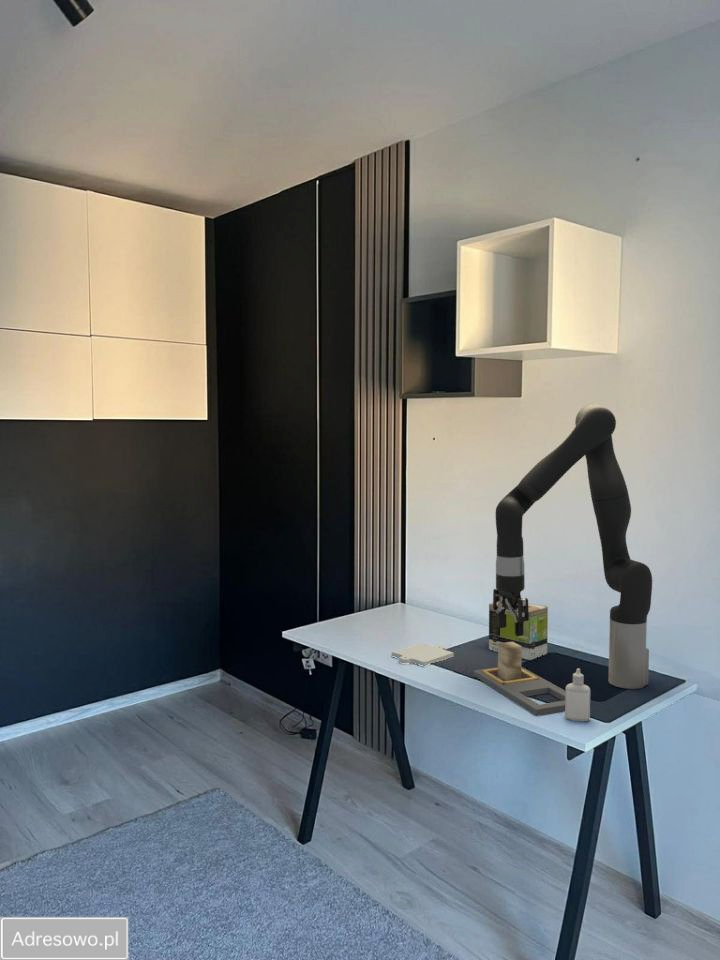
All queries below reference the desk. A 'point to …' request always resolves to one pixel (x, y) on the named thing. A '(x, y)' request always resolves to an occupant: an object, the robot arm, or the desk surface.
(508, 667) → the plug
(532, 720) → the desk surface
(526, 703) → the dock
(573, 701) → the eye dropper bottle
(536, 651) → the tea box
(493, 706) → the desk surface
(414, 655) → the mounting plate
